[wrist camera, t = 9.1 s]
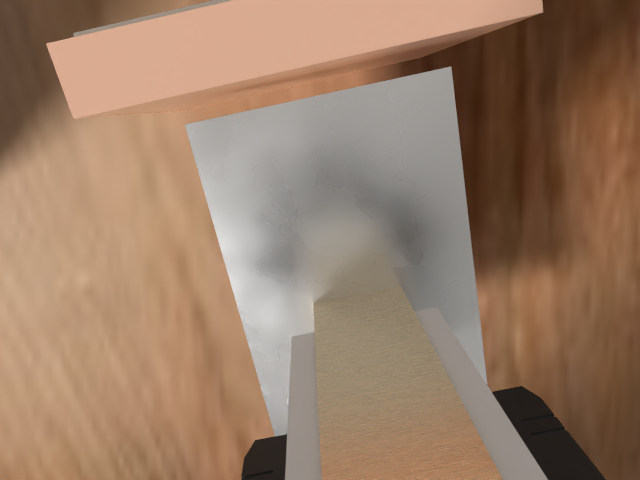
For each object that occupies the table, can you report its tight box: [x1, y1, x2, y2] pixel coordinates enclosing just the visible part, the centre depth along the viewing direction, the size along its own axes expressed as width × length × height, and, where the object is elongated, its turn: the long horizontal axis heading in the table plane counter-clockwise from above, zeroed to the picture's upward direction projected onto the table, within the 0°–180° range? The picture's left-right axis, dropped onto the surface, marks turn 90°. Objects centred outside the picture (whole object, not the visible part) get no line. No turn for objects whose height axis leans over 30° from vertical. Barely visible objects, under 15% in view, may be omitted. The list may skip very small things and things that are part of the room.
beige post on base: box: [185, 67, 503, 480], centre depth 12 cm, size 16×8×10 cm, turn 12°
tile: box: [46, 0, 543, 119], centre depth 17 cm, size 2×12×12 cm, turn 102°
